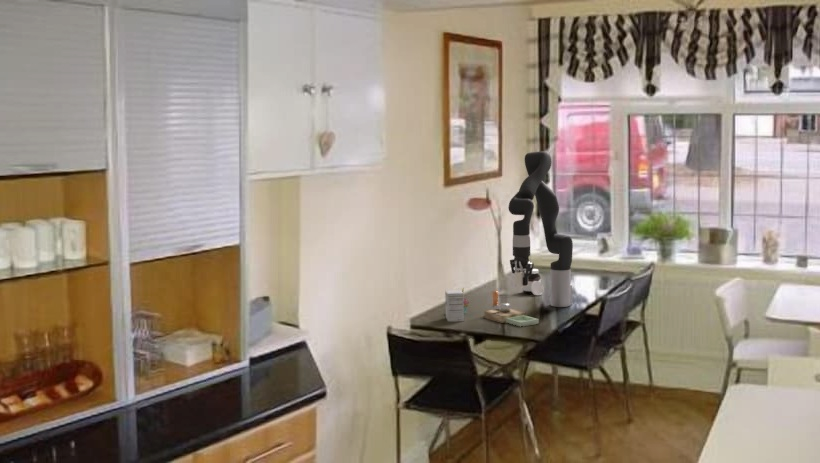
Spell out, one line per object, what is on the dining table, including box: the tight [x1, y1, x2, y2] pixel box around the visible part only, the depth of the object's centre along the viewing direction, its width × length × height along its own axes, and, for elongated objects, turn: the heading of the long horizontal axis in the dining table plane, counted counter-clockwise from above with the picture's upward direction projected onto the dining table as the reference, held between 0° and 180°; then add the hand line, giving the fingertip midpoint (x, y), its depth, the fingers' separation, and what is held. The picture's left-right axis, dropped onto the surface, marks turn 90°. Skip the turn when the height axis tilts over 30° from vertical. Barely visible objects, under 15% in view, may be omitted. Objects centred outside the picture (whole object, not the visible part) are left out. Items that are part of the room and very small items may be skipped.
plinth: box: [483, 307, 527, 324], centre depth 433 cm, size 13×13×3 cm
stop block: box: [514, 272, 528, 288], centre depth 421 cm, size 4×4×6 cm
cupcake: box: [461, 287, 470, 315], centre depth 444 cm, size 9×8×12 cm
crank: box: [492, 290, 512, 312], centre depth 436 cm, size 13×5×7 cm, turn 22°
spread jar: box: [521, 268, 545, 296], centre depth 485 cm, size 12×11×12 cm
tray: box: [505, 315, 540, 328], centre depth 423 cm, size 10×10×2 cm
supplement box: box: [444, 289, 465, 323], centre depth 432 cm, size 7×7×13 cm
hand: (521, 284), depth 421 cm, fingers closed on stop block, 4 cm apart
